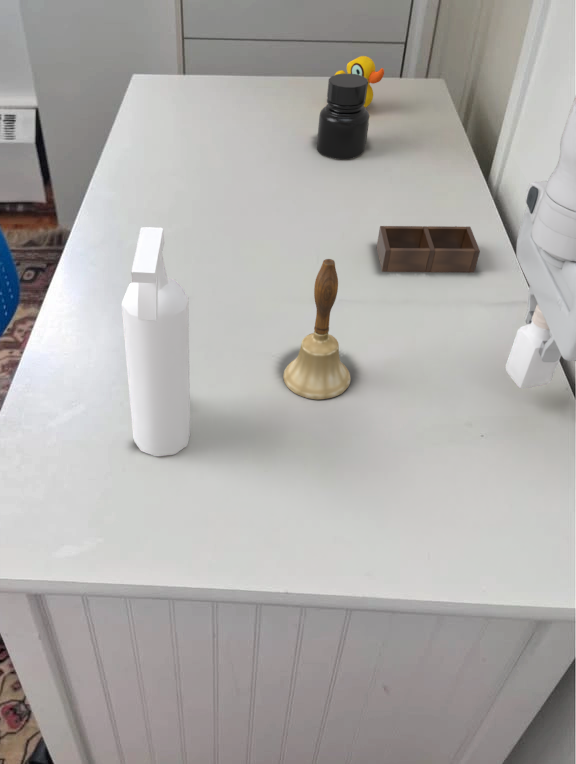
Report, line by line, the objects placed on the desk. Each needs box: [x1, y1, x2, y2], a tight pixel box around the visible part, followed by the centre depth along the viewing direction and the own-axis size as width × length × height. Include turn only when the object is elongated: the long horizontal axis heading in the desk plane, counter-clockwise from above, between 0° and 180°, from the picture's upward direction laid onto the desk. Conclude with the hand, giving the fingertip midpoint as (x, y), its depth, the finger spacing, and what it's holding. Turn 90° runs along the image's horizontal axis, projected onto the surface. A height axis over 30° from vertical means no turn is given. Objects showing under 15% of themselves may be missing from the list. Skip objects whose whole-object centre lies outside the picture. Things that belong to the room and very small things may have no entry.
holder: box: [376, 225, 481, 274], centre depth 104 cm, size 13×7×5 cm, turn 88°
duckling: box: [334, 55, 385, 109], centre depth 142 cm, size 11×5×10 cm, turn 46°
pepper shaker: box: [505, 304, 562, 389], centre depth 79 cm, size 4×4×10 cm
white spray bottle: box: [121, 226, 191, 457], centre depth 74 cm, size 7×12×25 cm, turn 175°
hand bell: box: [282, 258, 351, 400], centre depth 83 cm, size 8×8×16 cm
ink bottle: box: [316, 73, 370, 160], centre depth 129 cm, size 10×9×12 cm
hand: (540, 341), depth 79 cm, fingers closed on pepper shaker, 4 cm apart
